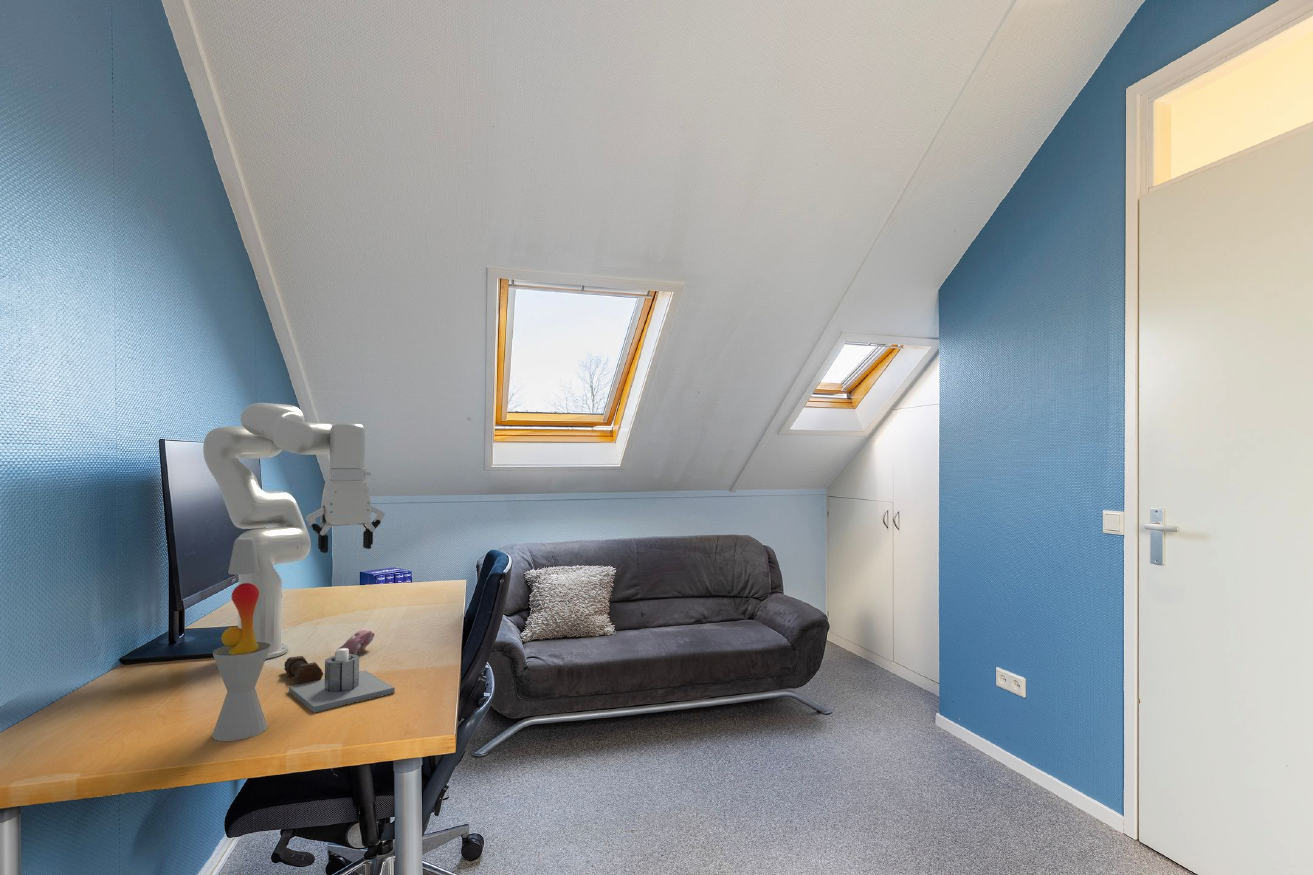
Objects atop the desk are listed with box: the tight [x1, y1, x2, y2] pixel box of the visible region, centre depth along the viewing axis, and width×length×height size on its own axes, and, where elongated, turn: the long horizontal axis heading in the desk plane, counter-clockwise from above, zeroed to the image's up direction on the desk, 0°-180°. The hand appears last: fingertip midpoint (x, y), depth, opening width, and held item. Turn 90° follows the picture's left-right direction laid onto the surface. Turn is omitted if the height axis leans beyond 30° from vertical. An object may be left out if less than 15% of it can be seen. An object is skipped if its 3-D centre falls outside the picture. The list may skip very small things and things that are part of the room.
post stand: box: [288, 648, 396, 714], centre depth 144 cm, size 16×16×9 cm
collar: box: [324, 654, 360, 692], centre depth 144 cm, size 6×6×6 cm
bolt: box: [284, 655, 324, 685], centre depth 152 cm, size 6×5×15 cm
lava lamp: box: [211, 537, 270, 742], centre depth 124 cm, size 9×9×35 cm
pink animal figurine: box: [334, 629, 375, 656], centre depth 172 cm, size 10×5×7 cm, turn 173°
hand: (345, 550), depth 157 cm, fingers open, 9 cm apart
